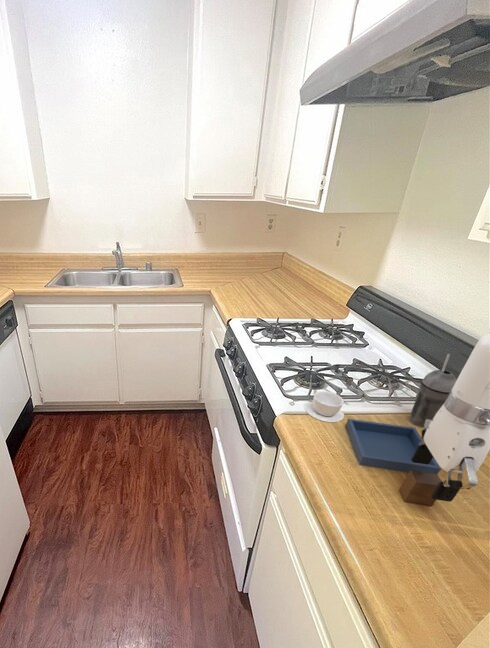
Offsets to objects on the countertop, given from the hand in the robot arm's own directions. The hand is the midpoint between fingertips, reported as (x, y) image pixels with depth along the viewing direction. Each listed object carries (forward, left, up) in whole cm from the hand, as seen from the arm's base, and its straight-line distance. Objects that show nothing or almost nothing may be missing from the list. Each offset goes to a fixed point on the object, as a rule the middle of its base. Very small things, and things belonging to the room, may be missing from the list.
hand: (429, 479), depth 67 cm
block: (+1, 0, -6) cm, 6 cm away
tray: (+2, -15, -6) cm, 16 cm away
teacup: (+14, -28, -6) cm, 31 cm away
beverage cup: (-10, -29, -6) cm, 31 cm away
